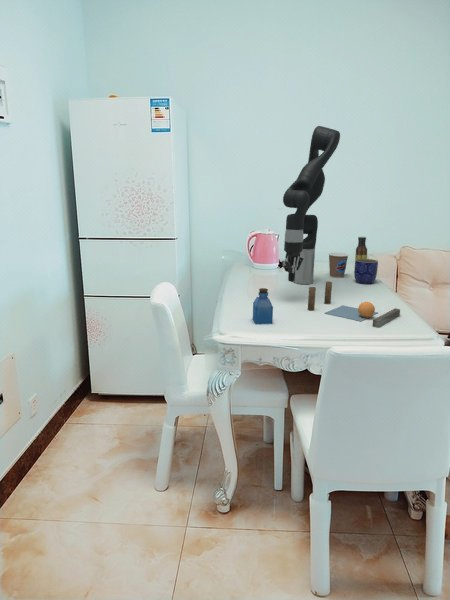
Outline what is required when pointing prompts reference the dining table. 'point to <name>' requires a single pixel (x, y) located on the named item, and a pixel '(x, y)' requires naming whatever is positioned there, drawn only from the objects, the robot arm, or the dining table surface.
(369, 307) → the ball
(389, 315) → the wall
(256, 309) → the perfume bottle
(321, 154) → the robot arm
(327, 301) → the post
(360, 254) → the sauce bottle
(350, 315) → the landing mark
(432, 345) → the dining table surface
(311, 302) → the post
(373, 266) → the planter
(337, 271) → the coffee cup
